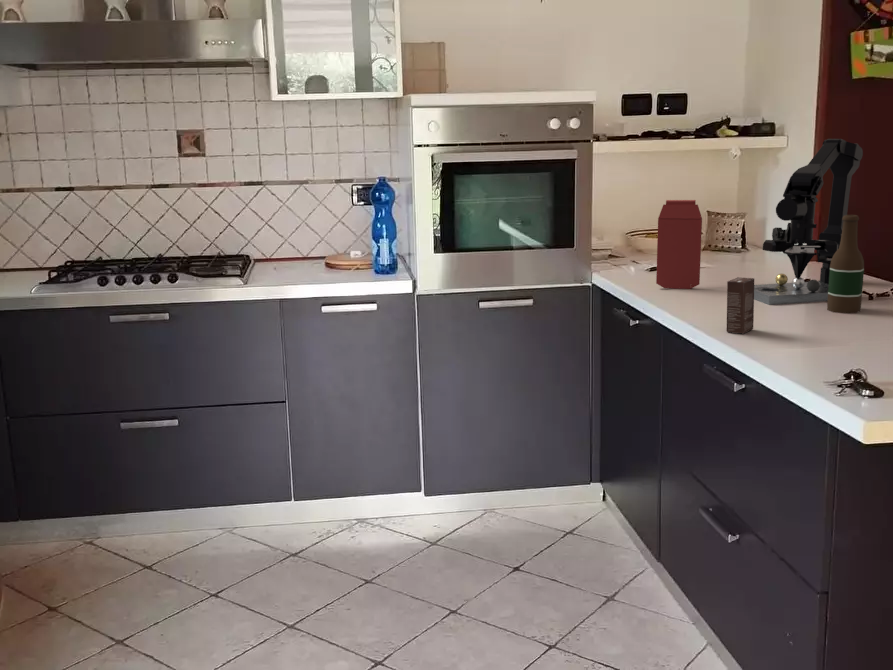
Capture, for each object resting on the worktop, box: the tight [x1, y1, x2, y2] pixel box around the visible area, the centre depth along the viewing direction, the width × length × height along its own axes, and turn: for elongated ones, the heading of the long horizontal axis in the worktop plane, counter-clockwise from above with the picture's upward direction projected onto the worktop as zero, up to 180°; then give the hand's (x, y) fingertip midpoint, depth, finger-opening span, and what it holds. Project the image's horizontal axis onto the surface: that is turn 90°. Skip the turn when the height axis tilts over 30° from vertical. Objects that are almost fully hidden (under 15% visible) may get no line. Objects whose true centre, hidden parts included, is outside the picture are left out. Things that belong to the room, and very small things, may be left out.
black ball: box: [807, 279, 820, 292], centre depth 238 cm, size 3×3×3 cm
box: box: [726, 276, 755, 335], centre depth 206 cm, size 6×4×12 cm
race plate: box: [754, 280, 829, 306], centre depth 244 cm, size 23×16×2 cm
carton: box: [655, 199, 703, 290], centre depth 260 cm, size 12×5×25 cm, turn 74°
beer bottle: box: [826, 214, 865, 314], centre depth 222 cm, size 8×8×24 cm
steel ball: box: [791, 276, 806, 289], centre depth 243 cm, size 3×3×3 cm
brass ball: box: [775, 273, 789, 285], centre depth 248 cm, size 3×3×3 cm
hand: (797, 278), depth 242 cm, fingers closed, pressing on steel ball
